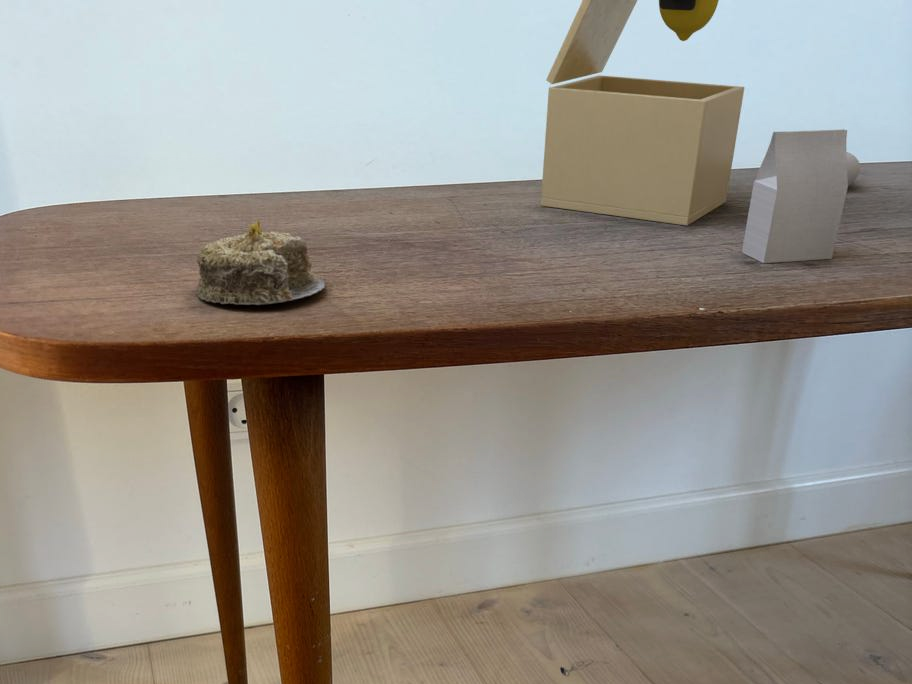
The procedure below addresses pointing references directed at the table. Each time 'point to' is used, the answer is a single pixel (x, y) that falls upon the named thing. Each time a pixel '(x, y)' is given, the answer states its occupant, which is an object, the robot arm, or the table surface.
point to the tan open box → (640, 147)
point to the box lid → (590, 39)
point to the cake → (256, 269)
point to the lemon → (689, 18)
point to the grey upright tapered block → (798, 197)
